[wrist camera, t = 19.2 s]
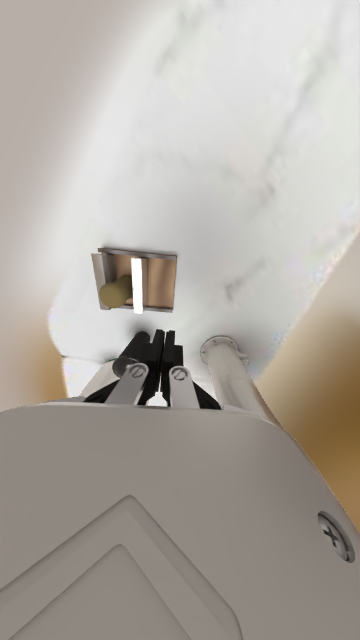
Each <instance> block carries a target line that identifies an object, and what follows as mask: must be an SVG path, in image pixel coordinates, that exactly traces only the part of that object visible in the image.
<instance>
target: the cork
mask: <svg viewBox="0 0 360 640" xmlns="http://www.w3.org/2000/svg"><path fill="white" fill-rule="evenodd" d="M99 297H100V300H101V302H102V303H103V304H104V305H106V306H107V307H110V308H119V307H121V306H123V305H124V304H125V303H126V300H128V299H130V298H133V285H132V275H127V274H126V275H123V276H121V277H120V278H118V279H117V280H116V281H115V282H114V283H112V282H110V283H106V284H104V285H103V286H102V287H101V289H100V291H99Z"/></svg>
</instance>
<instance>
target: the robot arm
mask: <svg viewBox="0 0 360 640" xmlns="http://www.w3.org/2000/svg"><path fill="white" fill-rule="evenodd" d="M164 339H165V332H164V331H163V330H159V329H157V330H156V333H155V336H154V339H153V342H152V343H146V344H145V346H144V349H143V352H142V354H141V357H140V359H139V362H138V363H135V364H133V365H131V366H129V367H128V369H127V370H126V371H125V373H124V374H123V376H122V377H121V378H120V379H118V380H116V381H114V382H112V383H111V384H109V385H107V386H105V387H103V388H101V389H99V390H98V391H96V392H94V393H92V394H91V395H89V396H88V397H85V398H84V396H79V397H72V398H66V399H60V400H52V401H47V402H43V403H36V404H31V405H25V406H21V407H17V408H14V409H10V410H6V411H3V412H1V413H0V640H360V534H359V532H358V531H357V529H356V527H355V526H354V524H353V523H352V521H351V520H350V518H349V516H348V515H347V513H346V511H345V510H344V508H343V507H342V506H341V504H340V502H339V501H338V500H337V498H336V496H335V495H334V493H333V492H332V490H331V489H330V487H329V486H328V484H327V483H326V481H325V480H324V478H323V476H322V475H321V474H320V472H319V471H318V469H317V468H316V466H315V465H314V463H313V462H312V461H311V459H310V458H309V456H308V455H307V454H306V452H305V451H304V450H303V449H302V447H301V446H300V445H299V443H298V442H297V441H296V440H295V439H294V438H293V437H292V436H291V435H290V434H289V433H288V432H287V431H286V430H285V429H284V428H283V427H282V425H281V424H280V423H279V421H278V420H277V419H276V417H275V416H274V414H273V413H272V412H271V410H270V409H269V407H268V406H267V404H266V403H265V401H264V399H263V398H262V396H261V395H260V393H259V391H258V390H257V388H256V386H255V385H254V383H253V381H252V379H251V378H250V376H249V374H248V373H247V371H246V369H245V367H244V366H243V365H248V364H249V360H248V359H239V358H240V357H242V358H247V354H245V353H239V352H238V346H237V344H236V343H235V342H234V340H232V339H231V338H229V337H225V336H218V337H214V338H211V339H209V340H208V341H207V342H205V343H204V345H203V346H202V348H201V358H202V360H203V362H204V363H205V364H207V365H208V367H209V371H210V374H211V378H212V382H213V386H214V389H215V393H216V397H217V401H218V402H217V401H216V400H215V399H214V398H213V397H211V396H210V395H209V394H208V393H207V392H205V391H204V390H203V389H202V388H201V387H199V386H198V385H197V384H196V383H195V382H193V381H192V378H191V375H190V372H189V370H188V369H187V368H185V367H183V346H180V345H174V342H175V331H171V330H169V332H167V333H166V339H165V345H164ZM160 376H161V387H160V392H163V394H162V397H163V398H164V399H165V400H166V401H167V407H162V406H147V405H148V402H149V399H150V398H152V397H153V396H155V391H156V392H158V389H159V383H160Z"/></svg>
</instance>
